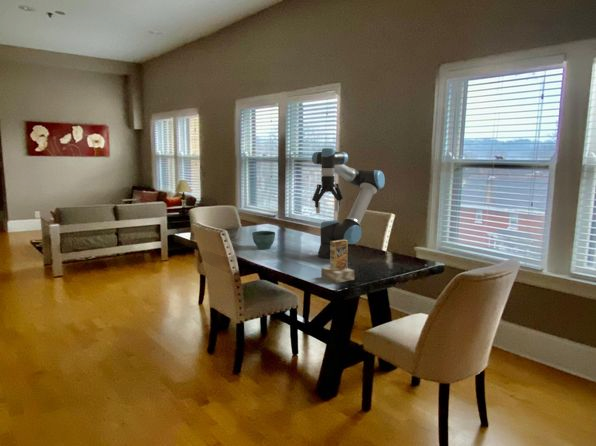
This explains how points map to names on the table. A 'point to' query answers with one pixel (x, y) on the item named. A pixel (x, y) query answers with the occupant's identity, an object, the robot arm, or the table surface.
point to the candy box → (338, 254)
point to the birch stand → (337, 274)
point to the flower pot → (263, 239)
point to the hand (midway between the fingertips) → (327, 212)
